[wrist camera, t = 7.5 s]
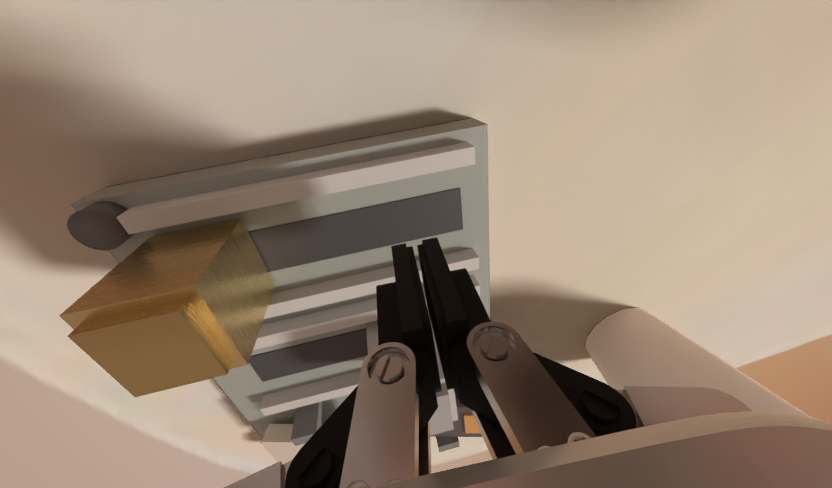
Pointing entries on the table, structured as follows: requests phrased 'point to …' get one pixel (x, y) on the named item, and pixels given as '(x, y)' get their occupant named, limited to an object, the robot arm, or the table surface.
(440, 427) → the slider grey
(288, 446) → the rocker ivory
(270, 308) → the panel
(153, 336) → the slider brass
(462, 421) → the rocker black
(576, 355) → the table surface
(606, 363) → the foam cup
